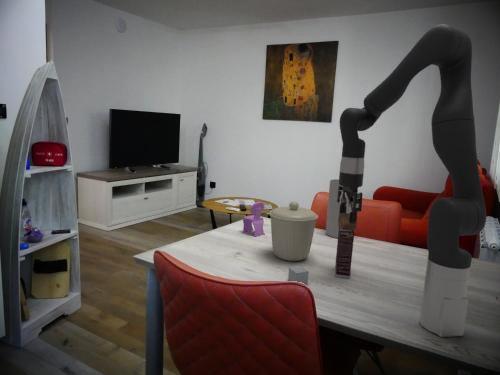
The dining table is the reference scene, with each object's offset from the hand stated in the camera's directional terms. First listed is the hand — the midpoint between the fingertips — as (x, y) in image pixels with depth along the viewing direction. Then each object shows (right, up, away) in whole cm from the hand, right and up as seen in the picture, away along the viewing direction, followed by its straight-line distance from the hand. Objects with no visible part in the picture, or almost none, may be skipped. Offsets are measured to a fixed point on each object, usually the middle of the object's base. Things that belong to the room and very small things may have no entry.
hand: (347, 219), depth 119 cm
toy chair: (-31, -10, +44) cm, 54 cm away
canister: (-17, -16, +17) cm, 28 cm away
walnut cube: (0, -3, 0) cm, 3 cm away
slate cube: (-17, -19, -6) cm, 27 cm away
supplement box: (-1, -19, +3) cm, 19 cm away
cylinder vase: (+9, -11, +47) cm, 49 cm away
